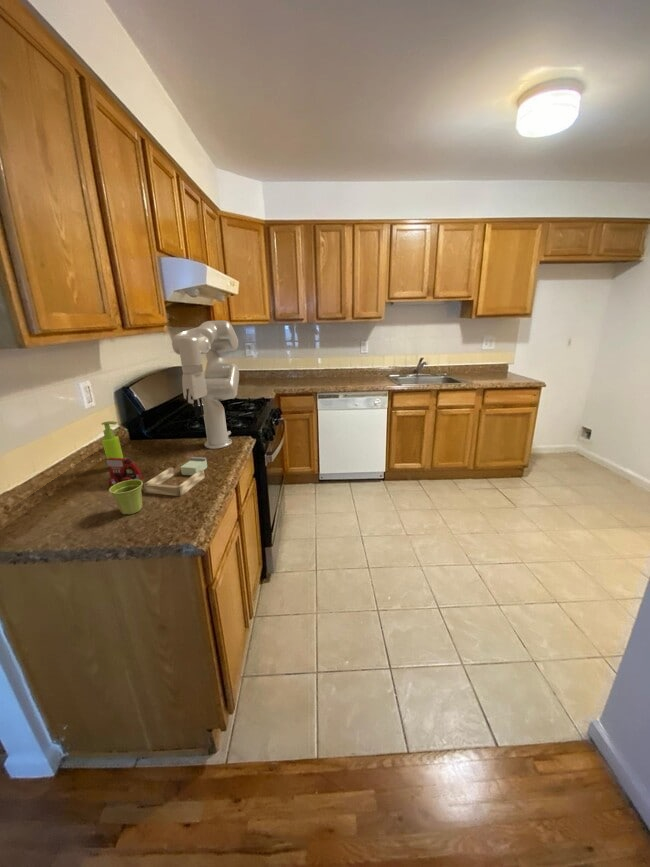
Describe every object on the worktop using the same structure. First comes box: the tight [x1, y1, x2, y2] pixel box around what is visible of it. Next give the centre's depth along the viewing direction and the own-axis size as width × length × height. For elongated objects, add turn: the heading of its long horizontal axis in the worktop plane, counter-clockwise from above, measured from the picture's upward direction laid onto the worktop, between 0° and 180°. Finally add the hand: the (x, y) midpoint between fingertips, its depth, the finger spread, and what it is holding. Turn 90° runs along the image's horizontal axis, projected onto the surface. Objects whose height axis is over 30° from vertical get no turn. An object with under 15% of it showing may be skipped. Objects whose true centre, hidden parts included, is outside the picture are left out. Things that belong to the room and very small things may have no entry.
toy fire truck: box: [105, 457, 144, 487], centre depth 131 cm, size 7×12×10 cm, turn 82°
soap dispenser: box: [101, 420, 124, 460], centre depth 144 cm, size 6×7×20 cm
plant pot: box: [108, 480, 144, 515], centre depth 113 cm, size 9×9×9 cm
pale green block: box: [180, 456, 208, 476], centre depth 141 cm, size 8×6×4 cm
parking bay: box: [142, 467, 206, 497], centre depth 130 cm, size 15×15×3 cm
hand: (199, 414), depth 143 cm, fingers closed
